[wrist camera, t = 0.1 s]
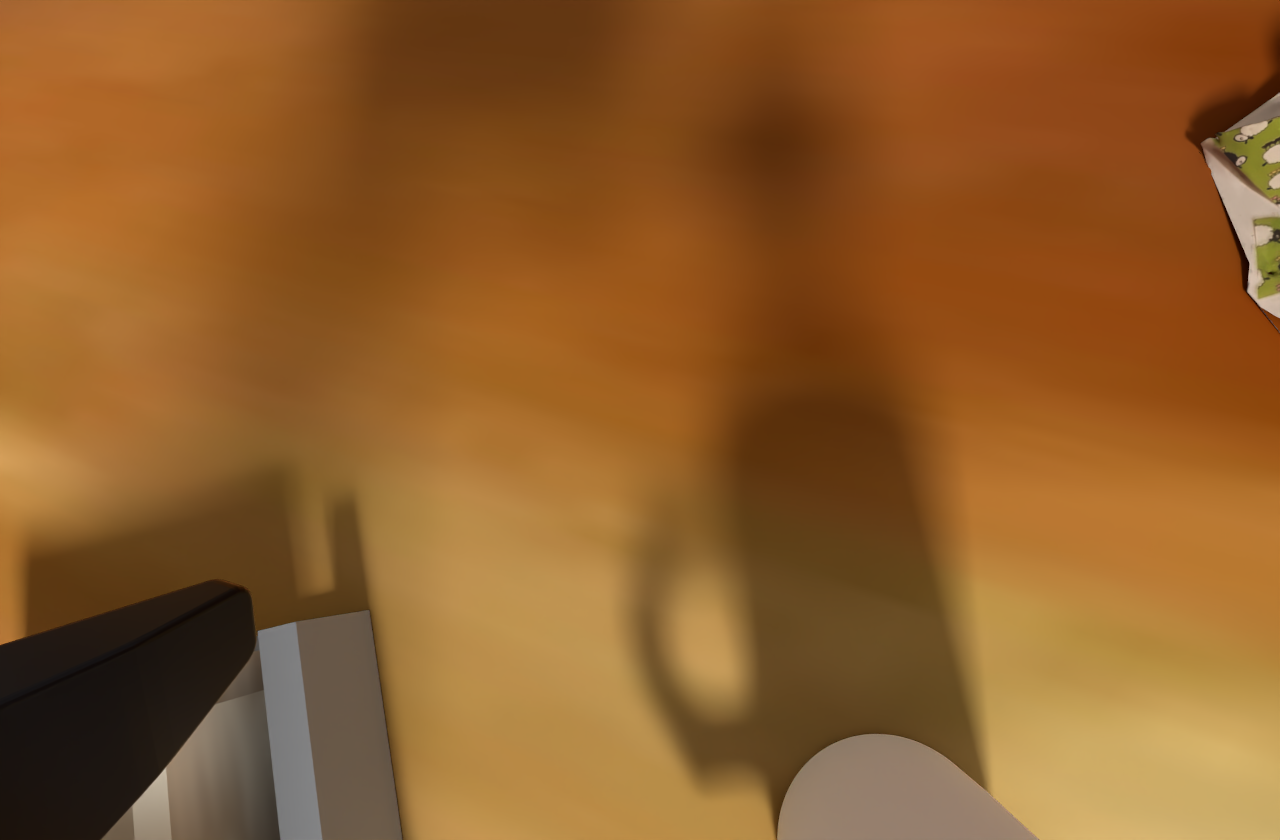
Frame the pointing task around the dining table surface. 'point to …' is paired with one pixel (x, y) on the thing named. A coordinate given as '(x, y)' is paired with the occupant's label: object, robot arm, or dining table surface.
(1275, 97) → the bear figurine
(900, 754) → the mug
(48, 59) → the dining table surface
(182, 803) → the crate
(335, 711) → the bay
